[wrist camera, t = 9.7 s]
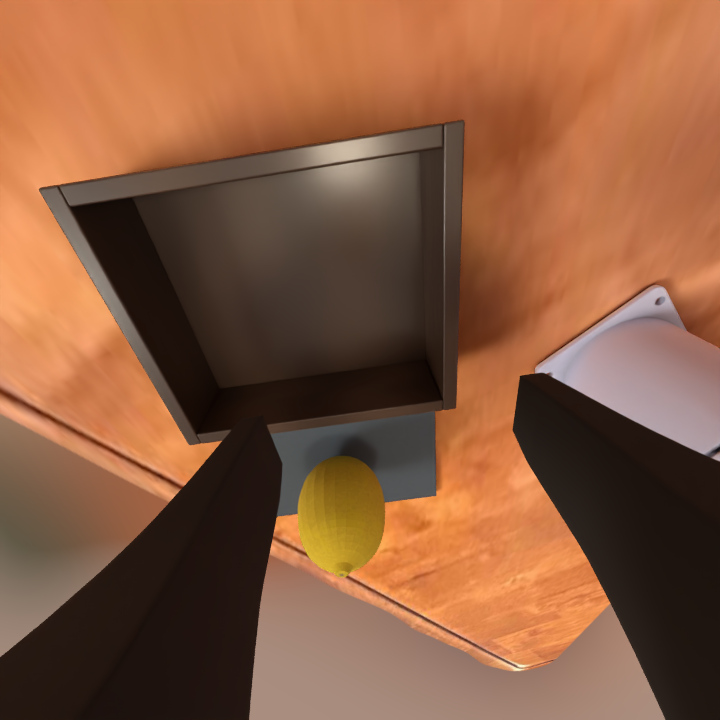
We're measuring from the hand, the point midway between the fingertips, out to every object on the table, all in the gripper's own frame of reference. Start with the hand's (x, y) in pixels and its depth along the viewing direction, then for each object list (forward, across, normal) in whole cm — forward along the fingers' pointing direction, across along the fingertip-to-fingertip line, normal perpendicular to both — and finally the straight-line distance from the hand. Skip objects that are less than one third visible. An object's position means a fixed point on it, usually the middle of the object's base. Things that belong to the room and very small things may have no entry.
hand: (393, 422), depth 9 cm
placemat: (+10, +4, +12) cm, 16 cm away
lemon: (+10, +4, +12) cm, 16 cm away
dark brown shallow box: (+10, +3, -1) cm, 11 cm away
